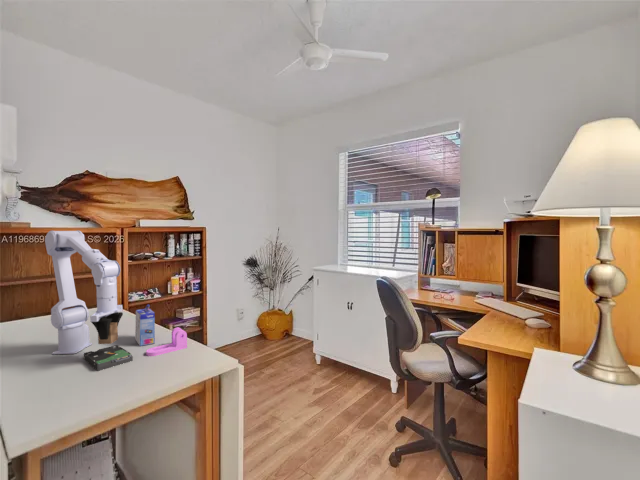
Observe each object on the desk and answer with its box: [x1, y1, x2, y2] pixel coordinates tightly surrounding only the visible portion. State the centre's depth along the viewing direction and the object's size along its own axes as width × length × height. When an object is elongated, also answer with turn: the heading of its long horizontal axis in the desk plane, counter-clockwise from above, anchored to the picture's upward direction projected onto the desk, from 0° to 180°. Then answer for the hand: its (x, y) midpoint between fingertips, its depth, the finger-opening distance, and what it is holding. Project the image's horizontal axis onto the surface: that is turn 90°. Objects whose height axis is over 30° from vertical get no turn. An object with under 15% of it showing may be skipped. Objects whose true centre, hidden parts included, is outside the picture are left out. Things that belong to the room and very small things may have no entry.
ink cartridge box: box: [134, 303, 156, 347], centre depth 123 cm, size 10×6×14 cm, turn 40°
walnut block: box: [97, 322, 119, 345], centre depth 106 cm, size 4×4×6 cm
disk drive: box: [83, 344, 134, 372], centre depth 106 cm, size 10×3×15 cm
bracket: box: [145, 326, 188, 357], centre depth 114 cm, size 13×6×7 cm, turn 132°
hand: (108, 336), depth 106 cm, fingers closed on walnut block, 4 cm apart
